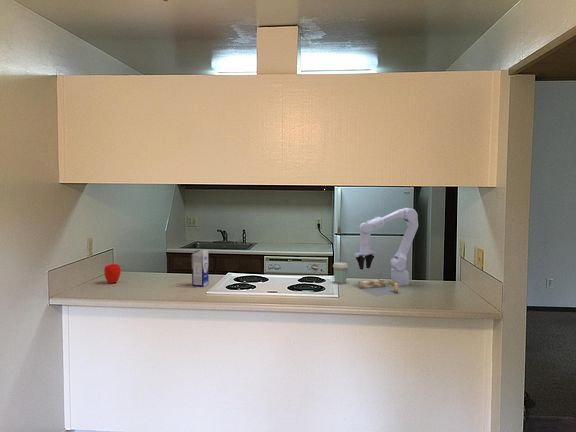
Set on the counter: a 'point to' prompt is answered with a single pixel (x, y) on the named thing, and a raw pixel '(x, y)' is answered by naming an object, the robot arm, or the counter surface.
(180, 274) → the counter surface
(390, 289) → the board
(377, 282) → the link
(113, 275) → the apple
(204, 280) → the milk carton
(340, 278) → the coffee cup
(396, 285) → the keeper
